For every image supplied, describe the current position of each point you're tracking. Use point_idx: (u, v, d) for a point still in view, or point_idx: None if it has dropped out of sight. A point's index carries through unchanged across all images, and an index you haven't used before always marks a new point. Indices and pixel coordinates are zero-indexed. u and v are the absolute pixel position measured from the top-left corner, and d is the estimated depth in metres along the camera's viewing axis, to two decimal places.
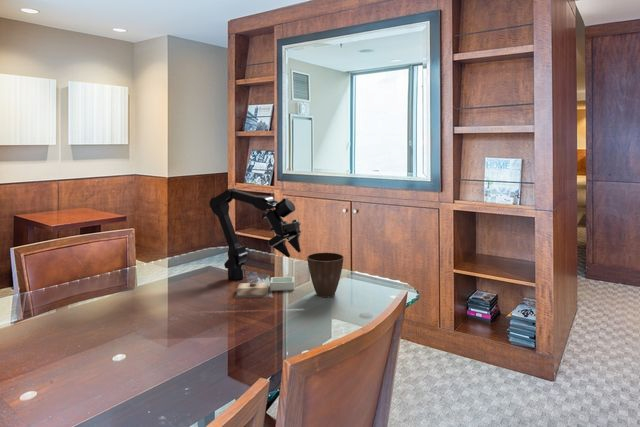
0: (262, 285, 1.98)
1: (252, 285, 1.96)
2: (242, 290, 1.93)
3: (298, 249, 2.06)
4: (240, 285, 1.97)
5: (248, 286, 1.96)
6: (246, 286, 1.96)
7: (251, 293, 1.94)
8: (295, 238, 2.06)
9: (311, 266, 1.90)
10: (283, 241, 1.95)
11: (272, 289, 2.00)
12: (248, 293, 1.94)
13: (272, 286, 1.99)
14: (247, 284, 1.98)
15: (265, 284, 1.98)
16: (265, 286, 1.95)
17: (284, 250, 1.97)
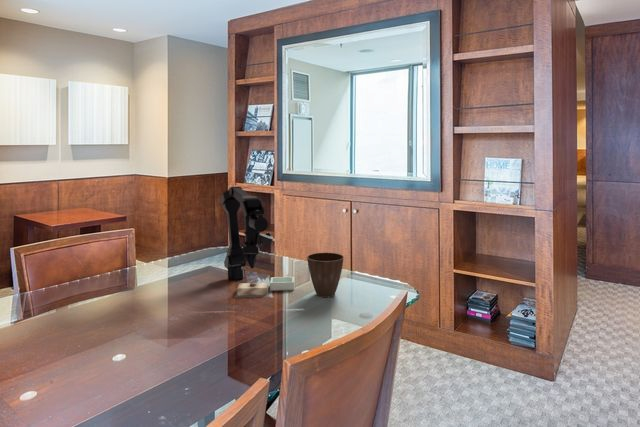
0: (262, 285, 1.98)
1: (252, 285, 1.96)
2: (242, 290, 1.93)
3: (254, 259, 2.00)
4: (240, 285, 1.97)
5: (248, 286, 1.96)
6: (246, 286, 1.96)
7: (251, 293, 1.94)
8: None
9: (311, 266, 1.90)
10: (258, 253, 1.88)
11: (272, 289, 2.00)
12: (248, 293, 1.94)
13: (272, 286, 1.99)
14: (247, 284, 1.98)
15: (265, 284, 1.98)
16: (265, 286, 1.95)
17: (252, 261, 1.90)
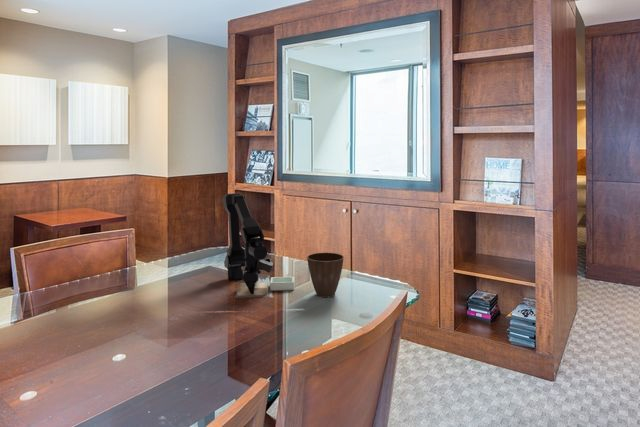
0: (262, 285, 1.98)
1: None
2: (242, 290, 1.93)
3: None
4: (240, 285, 1.97)
5: None
6: (246, 286, 1.96)
7: None
8: None
9: (311, 266, 1.90)
10: None
11: (272, 289, 2.00)
12: (248, 293, 1.94)
13: (272, 286, 1.99)
14: None
15: (265, 284, 1.98)
16: (265, 286, 1.95)
17: (252, 287, 1.92)
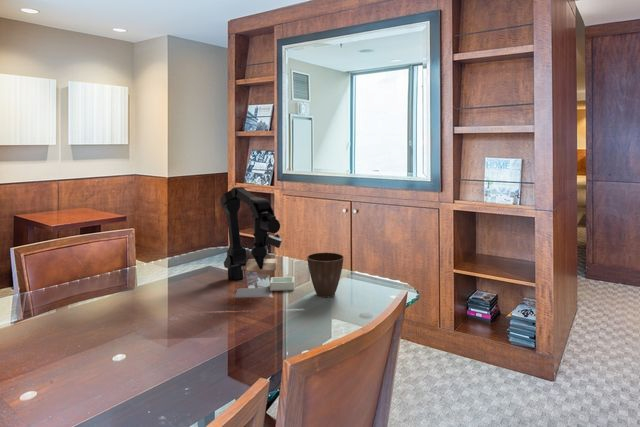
0: (271, 260, 1.98)
1: None
2: (251, 265, 1.94)
3: None
4: (249, 260, 1.98)
5: None
6: (255, 261, 1.96)
7: None
8: None
9: (311, 266, 1.90)
10: (266, 254, 1.91)
11: (272, 289, 2.00)
12: (257, 268, 1.94)
13: (272, 286, 1.99)
14: None
15: (274, 260, 1.98)
16: (274, 261, 1.96)
17: (261, 262, 1.93)
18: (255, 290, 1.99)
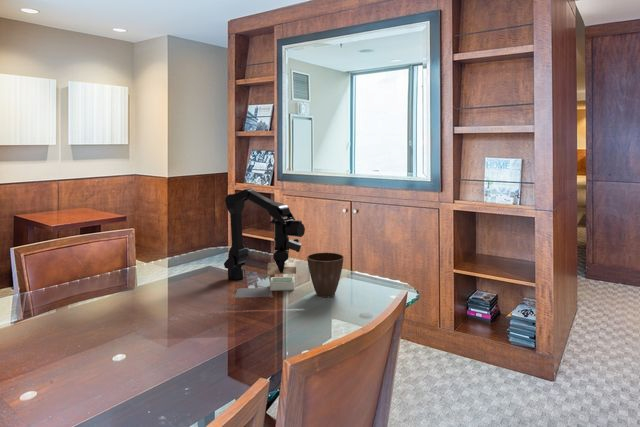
0: (291, 264, 2.03)
1: None
2: (272, 269, 1.99)
3: None
4: (269, 264, 2.03)
5: None
6: (275, 265, 2.01)
7: None
8: None
9: (311, 266, 1.90)
10: (287, 259, 1.96)
11: (272, 289, 2.00)
12: (278, 272, 1.99)
13: (272, 286, 1.99)
14: (276, 264, 2.04)
15: (293, 264, 2.04)
16: (294, 265, 2.01)
17: (281, 266, 1.98)
18: (255, 290, 1.99)
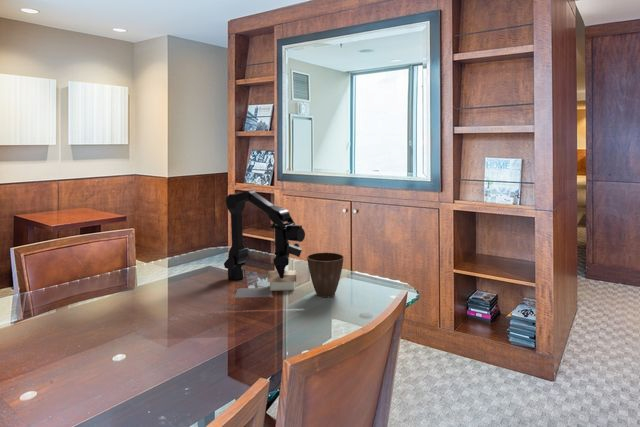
0: (291, 272, 2.03)
1: None
2: (272, 277, 1.99)
3: None
4: (270, 272, 2.03)
5: None
6: (275, 273, 2.02)
7: (281, 280, 2.00)
8: None
9: (311, 266, 1.90)
10: None
11: (272, 289, 2.00)
12: (278, 280, 2.00)
13: (272, 286, 1.99)
14: (276, 271, 2.04)
15: (294, 271, 2.04)
16: (294, 273, 2.01)
17: (282, 271, 1.97)
18: (255, 290, 1.99)
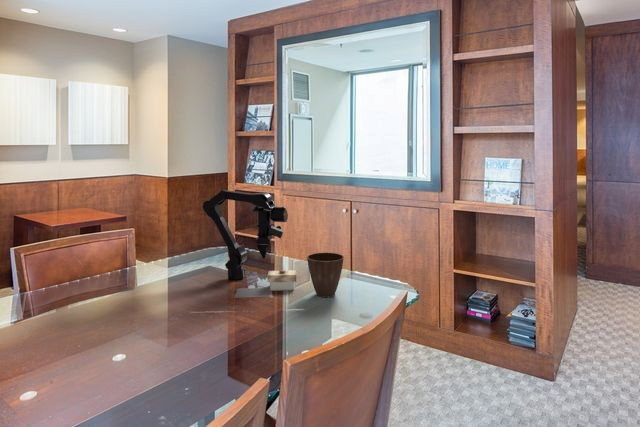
0: (291, 272, 2.03)
1: (281, 272, 2.02)
2: (272, 277, 1.99)
3: (265, 250, 2.17)
4: (270, 272, 2.03)
5: (278, 273, 2.02)
6: (275, 273, 2.02)
7: (281, 280, 2.00)
8: None
9: (311, 266, 1.90)
10: None
11: (272, 289, 2.00)
12: (278, 280, 2.00)
13: (272, 286, 1.99)
14: (276, 271, 2.04)
15: (294, 271, 2.04)
16: (294, 273, 2.01)
17: (264, 251, 2.06)
18: (255, 290, 1.99)
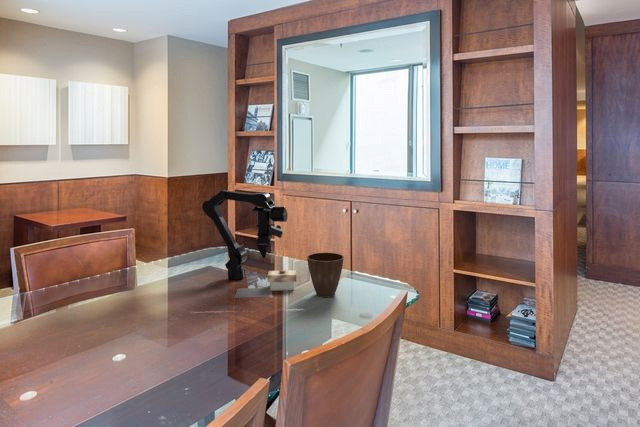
0: (291, 272, 2.03)
1: (281, 272, 2.02)
2: (272, 277, 1.99)
3: (265, 250, 2.17)
4: (270, 272, 2.03)
5: (278, 273, 2.02)
6: (275, 273, 2.02)
7: (281, 280, 2.00)
8: None
9: (311, 266, 1.90)
10: (269, 244, 2.05)
11: (272, 289, 2.00)
12: (278, 280, 2.00)
13: (272, 286, 1.99)
14: (276, 271, 2.04)
15: (294, 271, 2.04)
16: (294, 273, 2.01)
17: (264, 251, 2.06)
18: (255, 290, 1.99)
